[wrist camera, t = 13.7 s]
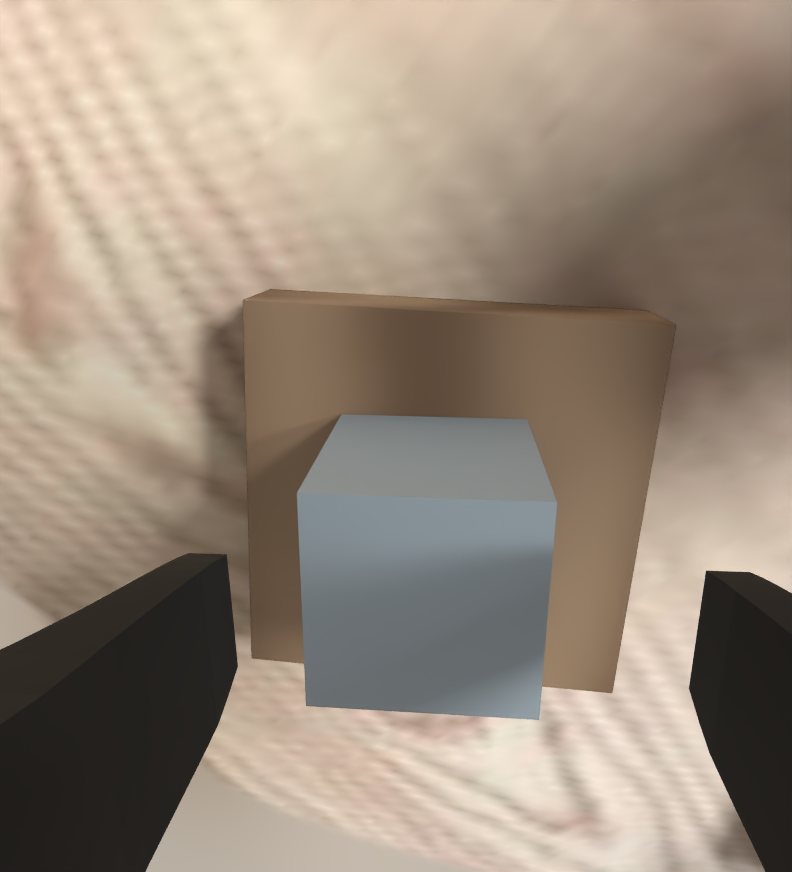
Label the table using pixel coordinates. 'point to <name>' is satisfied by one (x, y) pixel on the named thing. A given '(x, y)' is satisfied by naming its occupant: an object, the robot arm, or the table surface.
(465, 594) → the slate block
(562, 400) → the walnut block
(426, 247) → the table surface
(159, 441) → the table surface
